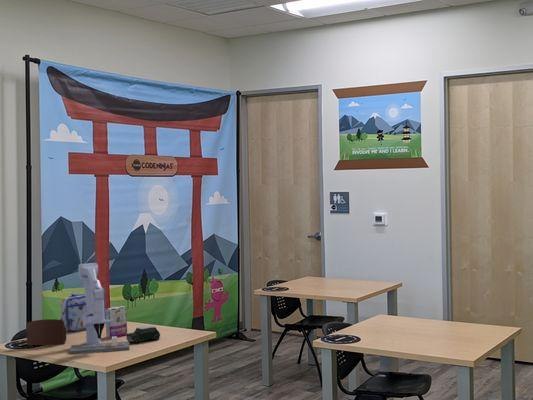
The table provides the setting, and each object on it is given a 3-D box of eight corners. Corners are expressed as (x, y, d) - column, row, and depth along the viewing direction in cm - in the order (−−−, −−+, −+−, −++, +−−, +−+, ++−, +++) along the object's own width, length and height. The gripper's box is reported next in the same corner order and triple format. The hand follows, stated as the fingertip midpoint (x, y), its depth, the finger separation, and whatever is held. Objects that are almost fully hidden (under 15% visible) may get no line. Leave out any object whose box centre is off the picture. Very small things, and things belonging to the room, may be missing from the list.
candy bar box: (123, 334, 409) (122, 305, 409) (127, 335, 405) (126, 306, 405) (105, 337, 402) (104, 308, 401) (110, 338, 398) (109, 309, 398)
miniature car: (124, 342, 387) (124, 327, 387) (154, 337, 398) (154, 323, 398) (131, 345, 380) (131, 330, 380) (162, 339, 391) (161, 325, 390)
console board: (71, 348, 375) (71, 345, 375) (129, 344, 381) (129, 341, 381) (69, 354, 362) (69, 350, 362) (129, 349, 367) (129, 346, 367)
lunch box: (66, 334, 414) (65, 296, 414) (58, 331, 422) (56, 294, 422) (108, 326, 433) (106, 290, 432) (99, 324, 440) (98, 289, 440)
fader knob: (112, 344, 373) (111, 336, 373) (116, 343, 373) (116, 336, 373) (112, 345, 368) (111, 338, 368) (116, 345, 369) (116, 337, 369)
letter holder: (64, 344, 386) (63, 318, 386) (26, 346, 383) (25, 320, 383) (66, 340, 396) (65, 315, 396) (29, 343, 393) (28, 317, 392)
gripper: (83, 314, 364) (84, 340, 364) (112, 312, 367) (113, 338, 367) (84, 312, 371) (85, 337, 371) (113, 310, 374) (113, 336, 374)
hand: (99, 338), depth 370 cm, fingers closed
